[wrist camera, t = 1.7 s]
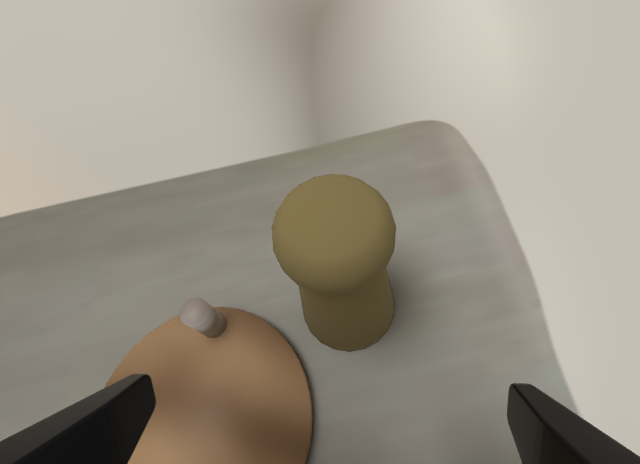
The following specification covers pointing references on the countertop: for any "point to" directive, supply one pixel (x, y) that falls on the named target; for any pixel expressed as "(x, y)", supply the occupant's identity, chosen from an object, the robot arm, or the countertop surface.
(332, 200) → the cork
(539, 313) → the countertop surface
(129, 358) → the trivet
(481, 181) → the countertop surface
